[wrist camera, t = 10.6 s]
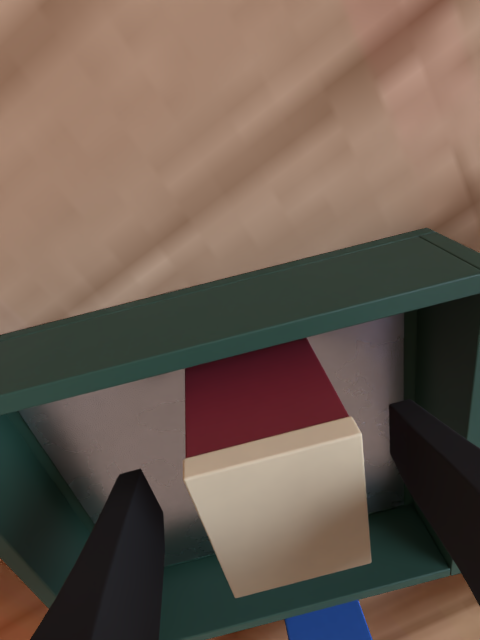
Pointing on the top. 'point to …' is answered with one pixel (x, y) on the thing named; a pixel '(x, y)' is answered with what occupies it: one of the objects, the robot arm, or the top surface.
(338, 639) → the block
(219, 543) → the block
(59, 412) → the steel plate
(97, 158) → the top surface
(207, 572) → the tray
